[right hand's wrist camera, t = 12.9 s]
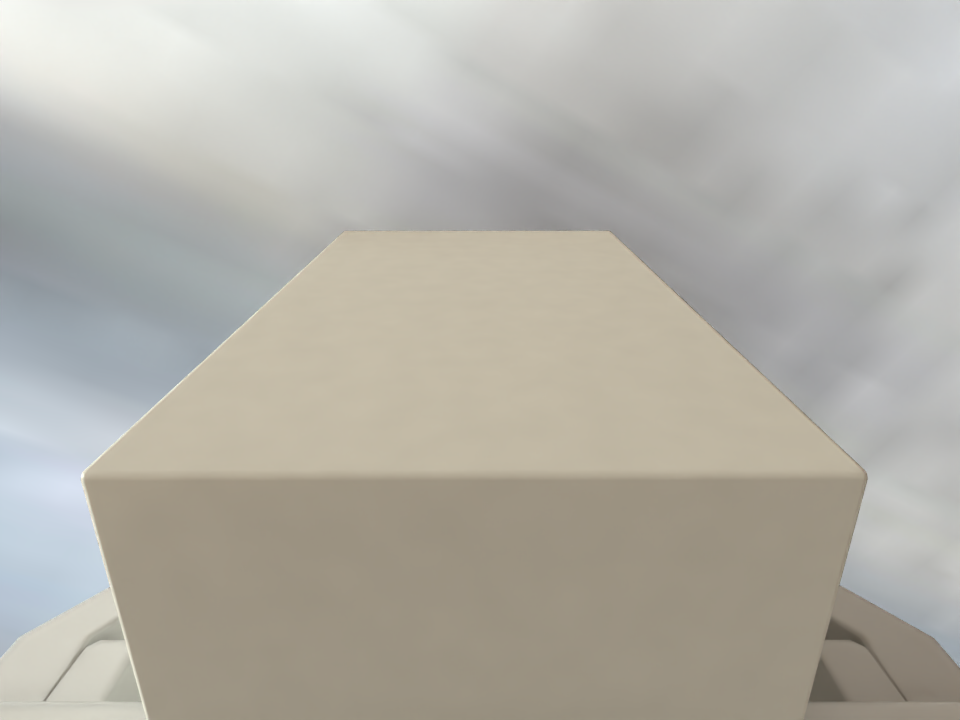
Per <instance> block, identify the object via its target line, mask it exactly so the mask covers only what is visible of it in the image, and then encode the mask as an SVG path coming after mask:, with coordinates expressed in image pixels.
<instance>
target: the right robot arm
mask: <svg viewBox="0 0 960 720" xmlns="http://www.w3.org/2000/svg"><path fill="white" fill-rule="evenodd" d="M0 720H147V719H146V716H145V712H144V708H143V705H142V701H141V697H140V694H139V690H138V686H137V683H136V679H135V675H134V672H133V668H132V665H131V661H130V657H129V654H128V650H127V646H126V643H125V639H124V635H123V632H122V628H121V624H120V621H119V617H118V614H117V610H116V606H115V603H114V599H113V595H112V592H111V588H110V587H109V588H107V589H105V590H103V591H102V592H100V593H98V594H96V595H94V596H93V597H91V598H89V599H87V600H85V601H84V602H82V603H80V604H78V605H76V606H75V607H73V608H71V609H69V610H67V611H66V612H64V613H62V614H60V615H58V616H56V617H55V618H53V619H51V620H49V621H47V622H46V623H44V624H42V625H40V626H38V627H37V628H35V629H33V630H31V631H29V632H28V633H26V634H24V635H22V636H20V637H19V638H18V639H17V640H16V641H15V643H14V644H13V645H12V646H11V647H10V648H9V649H8V650H7V652H6V653H5V654H4V655H3V656H2V657H1V658H0ZM804 720H960V668H959V667H958V666H957V664H956V663H955V662H954V661H953V660H952V659H951V657H950V656H949V655H948V654H947V653H946V652H945V650H944V649H943V648H942V647H941V646H940V645H939V643H938V642H937V641H936V640H935V639H934V638H933V637H931V636H929V635H927V634H926V633H924V632H922V631H920V630H919V629H917V628H915V627H913V626H911V625H910V624H908V623H906V622H904V621H903V620H901V619H899V618H897V617H895V616H894V615H892V614H890V613H888V612H886V611H885V610H883V609H881V608H879V607H878V606H876V605H874V604H872V603H870V602H869V601H867V600H865V599H863V598H862V597H860V596H858V595H856V594H854V593H853V592H851V591H849V590H847V589H846V588H844V587H842V586H840V585H839V588H838V592H837V596H836V599H835V603H834V607H833V611H832V615H831V618H830V622H829V626H828V630H827V633H826V637H825V641H824V645H823V648H822V652H821V656H820V660H819V663H818V667H817V671H816V675H815V678H814V682H813V686H812V690H811V693H810V697H809V701H808V705H807V708H806V712H805V716H804Z"/></svg>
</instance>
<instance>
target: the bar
mask: <svg viewBox="0 0 960 720" xmlns="http://www.w3.org/2000/svg"><path fill="white" fill-rule="evenodd" d="M867 479H868V478H867V473H866V471H865V470H864V469H863V468H862V467H861V466H860V465H859V464H858V463H857V462H855V461H854V460H853V459H852V458H851V457H850V456H849V455H848V454H847V453H846V452H845V451H844V450H843V449H842V448H841V447H840V446H838V445H837V444H836V443H835V442H834V441H833V440H832V439H831V438H830V437H829V436H828V435H827V434H826V433H825V432H824V431H822V430H821V429H820V428H819V427H818V426H817V425H816V424H815V423H814V422H813V421H812V420H811V419H810V418H809V417H808V416H806V415H805V414H804V413H803V412H802V411H801V410H800V409H799V408H798V407H797V406H796V405H795V404H794V403H793V402H792V401H791V400H789V399H788V398H787V397H786V396H785V395H784V394H783V393H782V392H781V391H780V390H779V389H778V388H777V387H776V386H775V385H773V384H772V383H771V382H770V381H769V380H768V379H767V378H766V377H765V376H764V375H763V374H762V373H761V372H760V371H759V370H758V369H756V368H755V367H754V366H753V365H752V364H751V363H750V362H749V361H748V360H747V359H746V358H745V357H744V356H743V355H742V354H740V353H739V352H738V351H737V350H736V349H735V348H734V347H733V346H732V345H731V344H730V343H729V342H728V341H727V340H726V339H724V338H723V337H722V336H721V335H720V334H719V333H718V332H717V331H716V330H715V329H714V328H713V327H712V326H711V325H710V324H709V323H707V322H706V321H705V320H704V319H703V318H702V317H701V316H700V315H699V314H698V313H697V312H696V311H695V310H694V309H693V308H691V307H690V306H689V305H688V304H687V303H686V302H685V301H684V300H683V299H682V298H681V297H680V296H679V295H678V294H677V293H675V292H674V291H673V290H672V289H671V288H670V287H669V286H668V285H667V284H666V283H665V282H664V281H663V280H662V279H661V278H660V277H658V276H657V275H656V274H655V273H654V272H653V271H652V270H651V269H650V268H649V267H648V266H647V265H646V264H645V263H644V262H642V261H641V260H640V259H639V258H638V257H637V256H636V255H635V254H634V253H633V252H632V251H631V250H630V249H629V248H628V247H627V246H625V245H624V244H623V243H622V242H621V241H620V240H619V239H618V238H617V237H616V236H615V235H614V234H613V233H612V232H610V231H344V232H343V233H342V234H341V235H340V236H338V237H337V238H336V239H335V240H334V241H333V242H332V243H331V244H330V245H329V246H328V247H327V248H325V249H324V250H323V251H322V252H321V253H320V254H319V255H318V256H317V257H316V258H315V259H314V260H312V261H311V262H310V263H309V264H308V265H307V266H306V267H305V268H304V269H303V270H302V271H300V272H299V273H298V274H297V275H296V276H295V277H294V278H293V279H292V280H291V281H290V282H289V283H287V284H286V285H285V286H284V287H283V288H282V289H281V290H280V291H279V292H278V293H277V294H275V295H274V296H273V297H272V298H271V299H270V300H269V301H268V302H267V303H266V304H265V305H264V306H262V307H261V308H260V309H259V310H258V311H257V312H256V313H255V314H254V315H253V316H252V317H251V318H249V319H248V320H247V321H246V322H245V323H244V324H243V325H242V326H241V327H240V328H239V329H237V330H236V331H235V332H234V333H233V334H232V335H231V336H230V337H229V338H228V339H227V340H226V341H224V342H223V343H222V344H221V345H220V346H219V347H218V348H217V349H216V350H215V351H214V352H213V353H211V354H210V355H209V356H208V357H207V358H206V359H205V360H204V361H203V362H202V363H201V364H199V365H198V366H197V367H196V368H195V369H194V370H193V371H192V372H191V373H190V374H189V375H188V376H186V377H185V378H184V379H183V380H182V381H181V382H180V383H179V384H178V385H177V386H176V387H174V388H173V389H172V390H171V391H170V392H169V393H168V394H167V395H166V396H165V397H164V398H163V399H161V400H160V401H159V402H158V403H157V404H156V405H155V406H154V407H153V408H152V409H151V410H150V411H148V412H147V413H146V414H145V415H144V416H143V417H142V418H141V419H140V420H139V421H138V422H136V423H135V424H134V425H133V426H132V427H131V428H130V429H129V430H128V431H127V432H126V433H125V434H123V435H122V436H121V437H120V438H119V439H118V440H117V441H116V442H115V443H114V444H113V445H111V446H110V447H109V448H108V449H107V450H106V451H105V452H104V453H103V454H102V455H101V456H100V457H98V458H97V459H96V460H95V461H94V462H93V463H92V464H91V465H90V466H89V467H88V468H87V469H85V470H84V471H83V473H82V475H81V482H82V486H83V490H84V493H85V497H86V501H87V504H88V508H89V511H90V515H91V519H92V522H93V526H94V530H95V533H96V537H97V541H98V544H99V548H100V552H101V555H102V559H103V562H104V566H105V570H106V573H107V577H108V581H109V584H110V588H111V592H112V595H113V599H114V603H115V606H116V610H117V614H118V617H119V621H120V624H121V628H122V632H123V635H124V639H125V643H126V646H127V650H128V654H129V657H130V661H131V665H132V668H133V672H134V675H135V679H136V683H137V686H138V690H139V694H140V697H141V701H142V705H143V708H144V712H145V716H146V719H147V720H804V716H805V712H806V708H807V705H808V701H809V697H810V693H811V690H812V686H813V682H814V678H815V675H816V671H817V667H818V663H819V660H820V656H821V652H822V648H823V645H824V641H825V637H826V633H827V630H828V626H829V622H830V618H831V615H832V611H833V607H834V603H835V599H836V596H837V592H838V588H839V584H840V581H841V577H842V573H843V569H844V566H845V562H846V558H847V554H848V551H849V547H850V543H851V539H852V536H853V532H854V528H855V524H856V521H857V517H858V513H859V509H860V506H861V502H862V498H863V494H864V491H865V487H866V483H867Z"/></svg>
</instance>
